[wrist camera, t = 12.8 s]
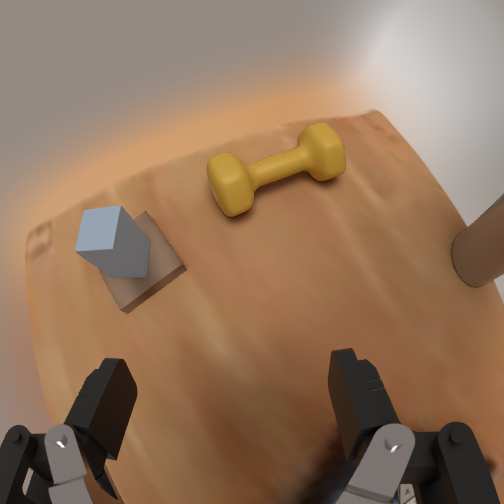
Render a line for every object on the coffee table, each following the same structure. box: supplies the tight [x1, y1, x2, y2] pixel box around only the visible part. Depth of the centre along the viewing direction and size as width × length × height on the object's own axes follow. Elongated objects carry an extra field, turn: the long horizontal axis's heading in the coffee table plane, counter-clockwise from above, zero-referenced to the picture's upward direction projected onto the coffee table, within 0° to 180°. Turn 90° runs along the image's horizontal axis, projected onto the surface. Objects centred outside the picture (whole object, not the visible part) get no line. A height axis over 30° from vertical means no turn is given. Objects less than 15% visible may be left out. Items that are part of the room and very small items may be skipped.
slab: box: [99, 211, 187, 314], centre depth 37 cm, size 10×10×3 cm
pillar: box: [75, 205, 150, 278], centre depth 31 cm, size 5×5×9 cm
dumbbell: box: [207, 122, 346, 217], centre depth 38 cm, size 19×9×8 cm, turn 114°
